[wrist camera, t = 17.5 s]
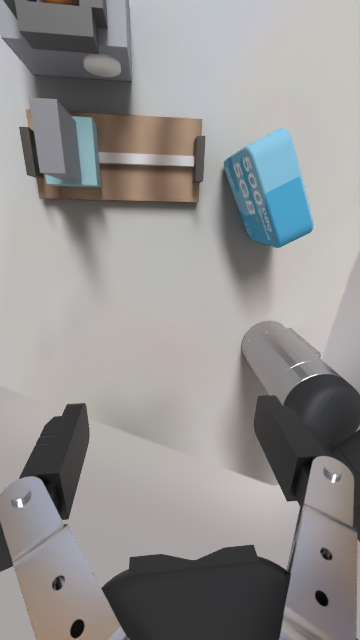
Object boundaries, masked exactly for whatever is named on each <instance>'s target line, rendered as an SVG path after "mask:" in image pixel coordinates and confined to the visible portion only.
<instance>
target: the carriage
mask: <svg viewBox="0 0 360 640" xmlns="http://www.w3.org/2000/svg"><path fill="white" fill-rule="evenodd" d="M29 102H30V108H31V115H32V122H33V129H34V135H35V142H36V149H37V156H38V162H39V169H40V173H43V174H45V176H46V183H47V184H49V185H54V186H79V187H101V178H100V165H99V152H98V139H97V126H96V123H95V122H94V120H93V119H92V117H75V116H71V115H70V114H69V113H68V112H67V111H66V110H65V108H64V107H63V106H62V105H61V104H60V103H59V101H58V100H57V99H46V98H29Z"/></svg>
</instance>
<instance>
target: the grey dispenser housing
mask: <svg viewBox="0 0 360 640" xmlns="http://www.w3.org/2000/svg"><path fill="white" fill-rule="evenodd" d="M0 34H1V38H2V39H3V40H4V41H5V42H6V44H7V45H8V46H9V47H10V48H11V49H12V51H13V52H14V53H15V54H16V55H17V56H18V57H19V59H20V60H21V61H22V62H23V63H24V64H25V65H26V67H27V68H28V69H29V70H30V71H31V72H32V74H33V75H45V76H60V77H74V78H89V79H104V80H119V81H132V67H131V39H130V10H129V0H79V1H78V5H77V6H74V5H63V4H52V3H43V1H42V0H0Z"/></svg>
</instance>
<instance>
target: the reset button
mask: <svg viewBox="0 0 360 640" xmlns="http://www.w3.org/2000/svg"><path fill="white" fill-rule="evenodd" d="M42 1H43V3H52V4H63V5H74V6H77V5H78V1H79V0H42Z"/></svg>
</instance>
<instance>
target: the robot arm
mask: <svg viewBox="0 0 360 640" xmlns="http://www.w3.org/2000/svg"><path fill="white" fill-rule="evenodd" d="M242 352H243V355H244V357H245V359H246V360H247V362H248V363H249V365H250V366H251V368H252V370H253V371H254V373H255V374H256V376H257V378H258V379H259V381H260V382H261V384H262V385H263V387H264V389H265V390H266V392H267V393H268V395H266V396H259V397H258V399H257V405H256V412H255V419H254V429H255V433H256V436H257V438H258V440H259V442H260V444H261V446H262V449H263V451H264V453H265V455H266V457H267V459H268V461H269V464H270V466H271V468H272V470H273V472H274V474H275V476H276V479H277V481H278V483H279V485H280V487H281V489H282V491H283V493H284V495H285V497H286V500H287V501H298V503H299V505H300V510H299V515H298V519H297V524H296V529H295V533H294V538H293V543H292V548H291V553H290V557H289V561H288V566H287V570H285V569H284V568H282V567H281V566H279V565H277V564H276V563H274V562H272V561H270V560H267V559H265V558H262V557H258V556H257V554H256V551H255V548H254V545H247V546H237V547H227V548H223V549H220V550H218V551H216V552H213V553H212V554H209V555H207V556H204V557H202V558H200V559H198V560H187V559H183V558H178V557H173V556H168V555H163V554H159V555H147V556H138V557H130V564H129V569H128V570H126V571H123V572H122V573H120V574H118V575H116V576H115V577H114V578H112V579H111V580H110V581H108V582H107V583H106V584H105V585H104V586H103V587H102V588H100V585H99V583H98V581H97V579H96V577H95V575H94V573H93V572H92V570H91V568H90V566H89V564H88V562H87V560H86V558H85V556H84V554H83V552H82V550H81V549H80V546H79V545H78V543H77V541H76V539H75V537H74V535H73V533H72V531H71V529H70V527H69V526H68V525H67V524H66V525H65V524H64V523H63V521H62V520H66V519H69V515H70V511H71V507H72V504H73V500H74V496H75V492H76V489H77V485H78V481H79V477H80V474H81V470H82V466H83V463H84V459H85V455H86V451H87V447H88V443H89V424H88V416H87V408H86V404H85V403H80V404H67V406H66V408H65V410H64V412H63V415H62V416H58V417H53V418H52V419H51V420H50V421H49V422H48V423H47V424H46V425H45V426H44V429H43V431H42V433H41V435H40V438H39V439H38V441H37V443H36V446H35V447H34V449H33V451H32V453H31V455H30V457H29V459H28V461H27V463H26V465H25V467H24V469H23V472H22V473H21V475H20V478H19V479H18V480H16V481H14V482H13V483H11V484H10V485H9V486H7V487H6V488H5V489H4V490H3V491H2V492H1V494H0V572H1V571H3V570H5V569H8V568H10V567H12V566H14V569H15V572H16V576H17V579H18V582H19V586H20V589H21V592H22V595H23V598H24V602H25V605H26V608H27V612H28V615H29V618H30V621H31V625H32V628H33V631H34V635H35V637H36V640H358V639H357V638H356V620H357V542H358V540H359V541H360V430H358V431H357V432H356V430H357V429H358V427H359V425H360V394H359V393H358V392H357V390H356V389H355V388H354V387H353V386H351V385H350V384H349V383H348V382H347V381H346V380H344V379H343V378H342V377H341V376H340V375H339V374H338V373H336V372H335V371H334V370H333V369H332V368H331V367H330V366H328V365H327V364H326V363H325V362H324V361H323V360H322V359H320V356H321V355H320V353H319V352H318V351H317V350H316V349H315V348H314V347H313V346H311V345H310V344H309V343H308V342H307V341H305V340H304V339H303V338H302V337H301V336H300V335H298V334H297V333H296V332H295V331H294V330H292V329H291V328H290V329H288V328H285V327H284V326H283V325H281V324H279V323H277V322H272V321H267V322H262V323H260V324H257V325H255V326H254V327H252V328H251V329H250V330H249V331H248V332H247V334H246V335H245V337H244V339H243V342H242ZM355 432H356V433H355Z"/></svg>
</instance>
